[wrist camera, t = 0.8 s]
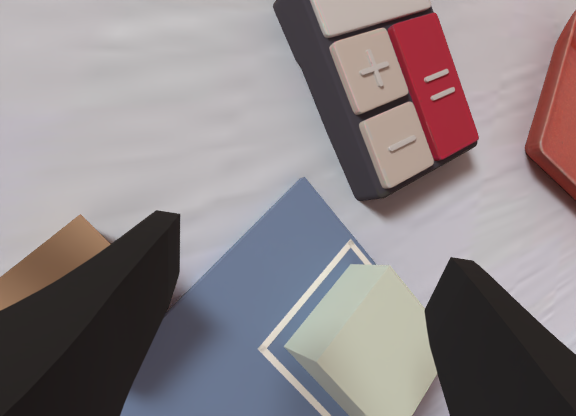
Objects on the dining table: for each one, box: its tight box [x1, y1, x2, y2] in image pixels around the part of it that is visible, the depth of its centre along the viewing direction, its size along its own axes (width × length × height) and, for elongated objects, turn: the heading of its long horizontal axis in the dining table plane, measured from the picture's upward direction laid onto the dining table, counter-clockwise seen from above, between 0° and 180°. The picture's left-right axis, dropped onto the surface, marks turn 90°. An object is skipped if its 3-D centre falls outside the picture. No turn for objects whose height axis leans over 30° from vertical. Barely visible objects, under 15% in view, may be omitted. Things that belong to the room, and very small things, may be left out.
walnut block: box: [0, 214, 110, 310], centre depth 18 cm, size 5×5×5 cm
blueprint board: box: [120, 177, 376, 416], centre depth 25 cm, size 18×16×1 cm
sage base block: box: [284, 264, 437, 416], centre depth 25 cm, size 7×7×4 cm
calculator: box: [273, 0, 479, 201], centre depth 29 cm, size 11×4×15 cm
